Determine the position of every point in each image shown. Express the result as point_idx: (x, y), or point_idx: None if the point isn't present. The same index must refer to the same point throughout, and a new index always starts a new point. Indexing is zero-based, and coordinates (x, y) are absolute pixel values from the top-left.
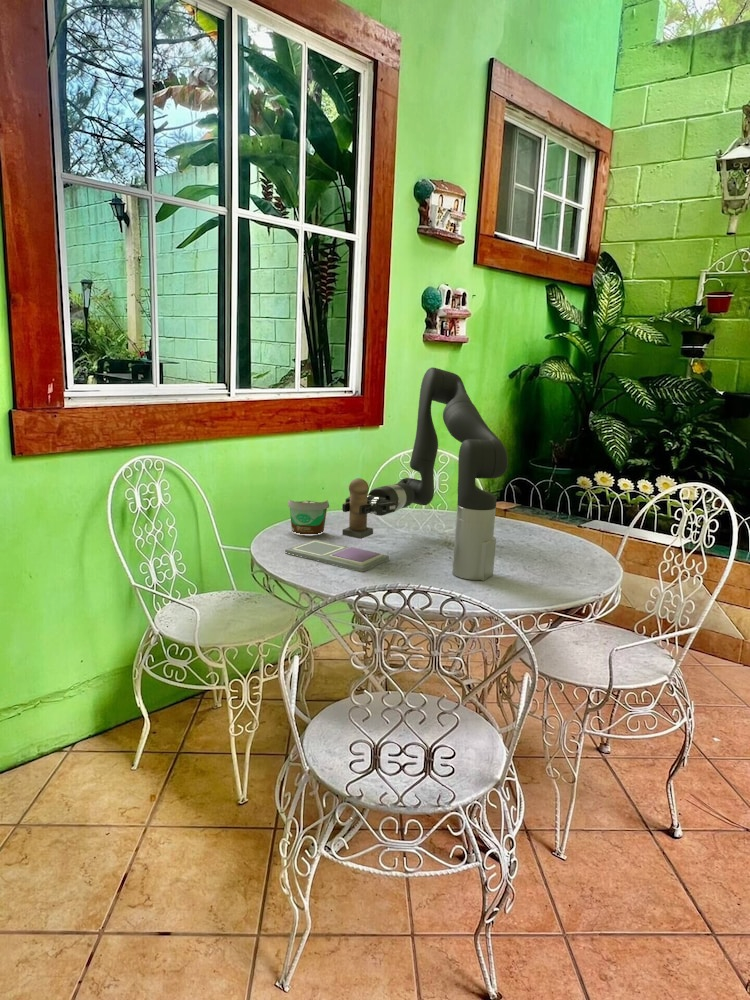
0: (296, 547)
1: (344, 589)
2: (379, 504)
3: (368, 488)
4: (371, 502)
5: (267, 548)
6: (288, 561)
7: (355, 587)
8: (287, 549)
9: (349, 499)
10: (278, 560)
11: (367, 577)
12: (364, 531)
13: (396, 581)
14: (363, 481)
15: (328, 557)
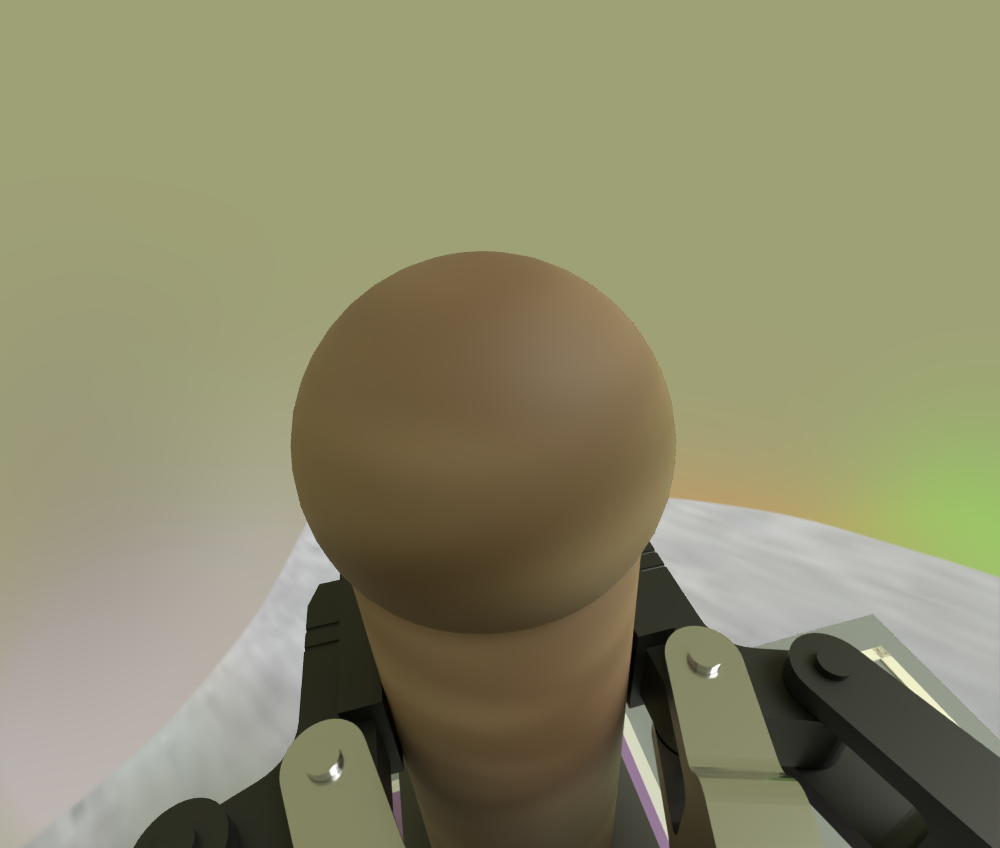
0: (909, 681)
1: (293, 565)
2: (160, 828)
3: (300, 502)
4: (383, 831)
5: (989, 604)
6: (713, 577)
7: (266, 605)
8: (873, 624)
9: (797, 670)
10: (743, 554)
11: (281, 733)
12: (406, 791)
13: (93, 829)
14: (342, 315)
15: (631, 722)
